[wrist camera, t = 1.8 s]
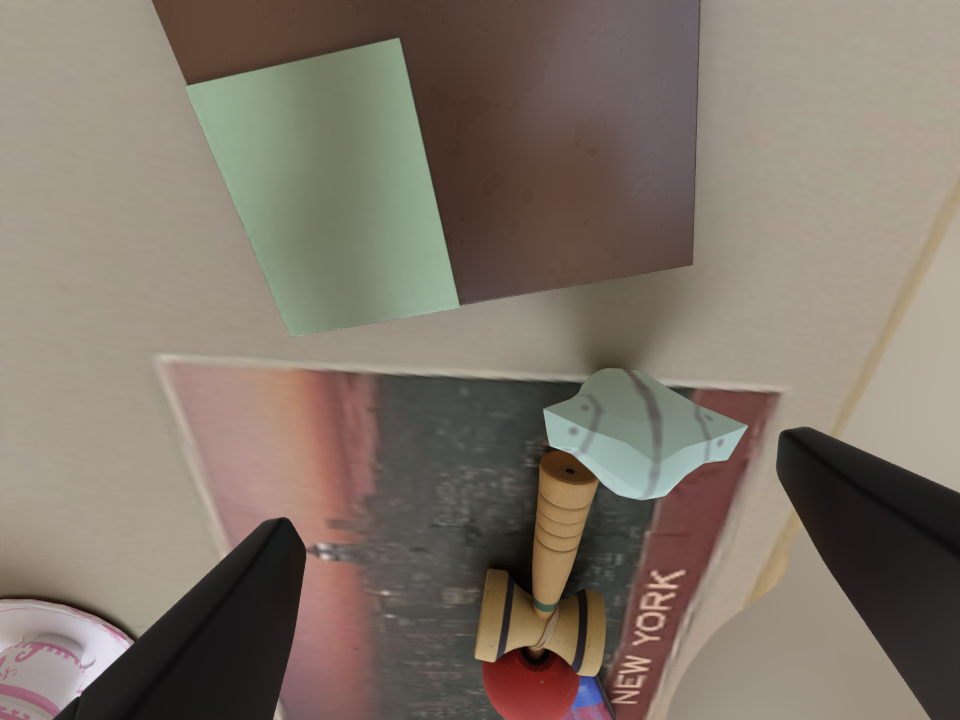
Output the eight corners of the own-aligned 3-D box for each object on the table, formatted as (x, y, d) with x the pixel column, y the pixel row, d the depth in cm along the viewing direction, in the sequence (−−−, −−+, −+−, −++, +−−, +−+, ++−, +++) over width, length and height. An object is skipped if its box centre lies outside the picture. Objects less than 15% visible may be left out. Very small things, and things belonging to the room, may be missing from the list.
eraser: (619, 719, 39) (625, 745, 37) (569, 728, 40) (573, 754, 38) (586, 645, 34) (592, 673, 32) (530, 658, 34) (533, 685, 33)
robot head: (704, 352, 22) (784, 446, 17) (678, 422, 24) (741, 529, 19) (533, 336, 22) (553, 428, 16) (520, 410, 24) (534, 515, 18)
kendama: (475, 430, 26) (455, 664, 33) (503, 506, 21) (472, 771, 27) (608, 426, 28) (563, 650, 34) (668, 495, 22) (601, 748, 29)
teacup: (49, 573, 30) (-45, 680, 25) (186, 670, 35) (134, 775, 30) (-77, 625, 33) (-187, 732, 27) (68, 708, 38) (0, 811, 33)
